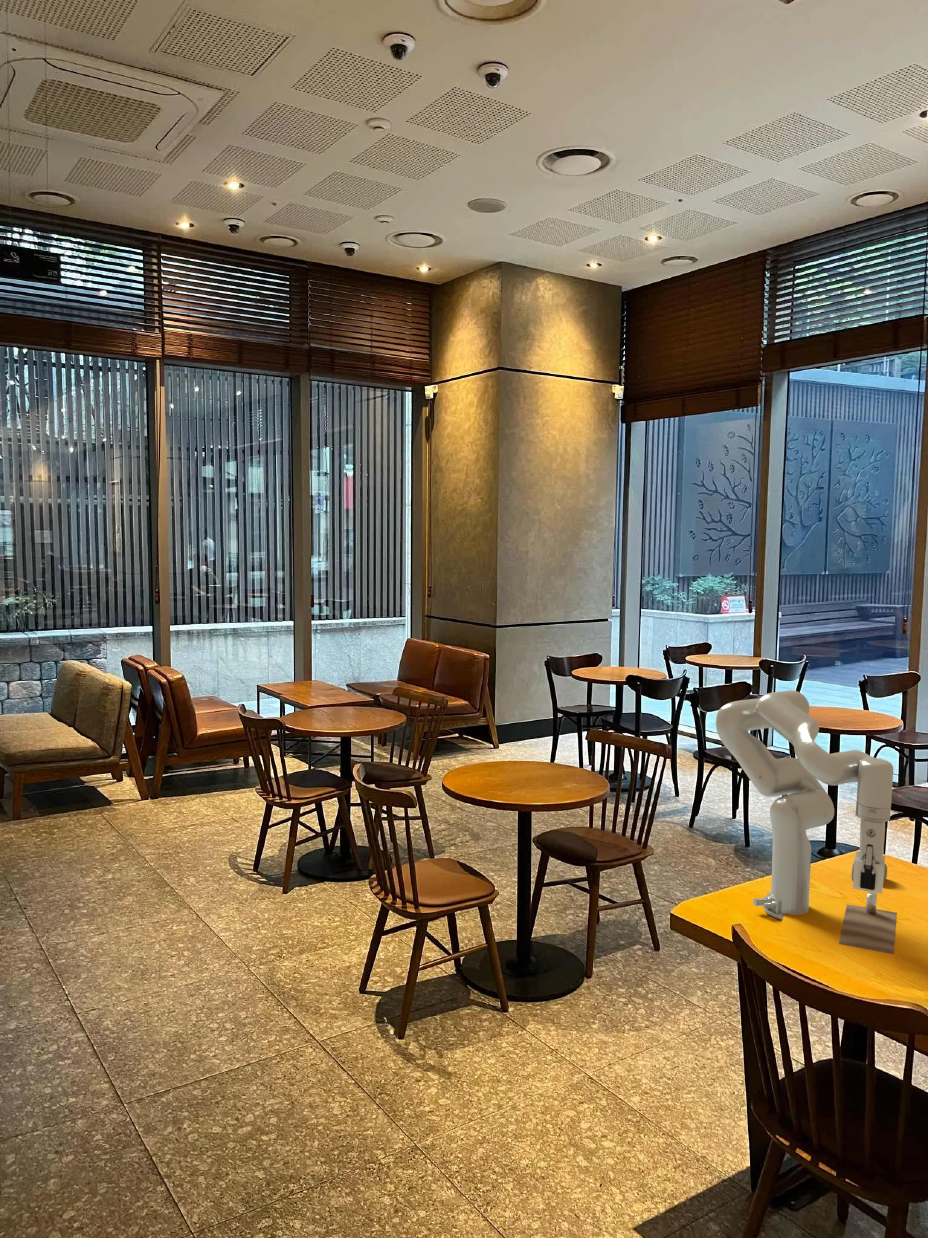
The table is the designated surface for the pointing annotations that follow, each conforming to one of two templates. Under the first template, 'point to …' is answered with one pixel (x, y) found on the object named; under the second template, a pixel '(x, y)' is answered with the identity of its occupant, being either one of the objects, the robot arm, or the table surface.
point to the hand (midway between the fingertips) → (868, 882)
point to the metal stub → (871, 903)
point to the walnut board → (869, 929)
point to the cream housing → (878, 870)
